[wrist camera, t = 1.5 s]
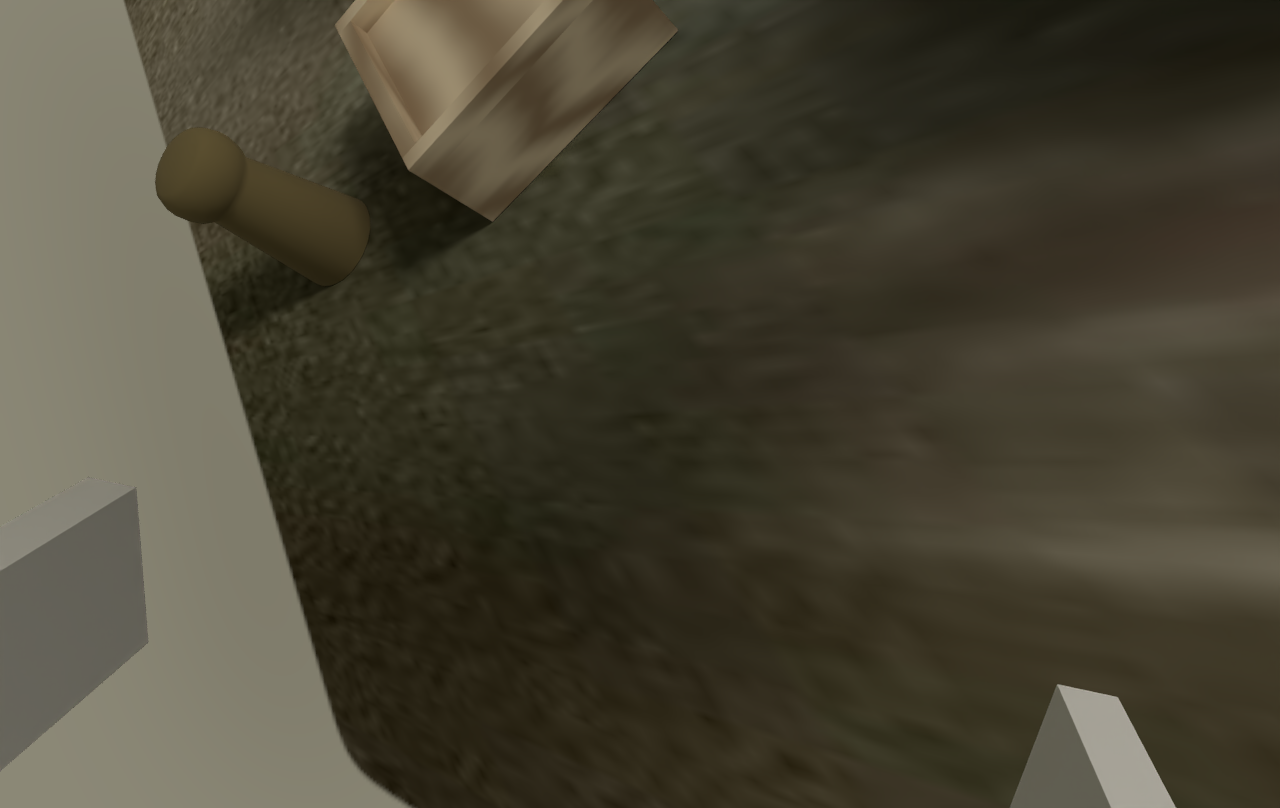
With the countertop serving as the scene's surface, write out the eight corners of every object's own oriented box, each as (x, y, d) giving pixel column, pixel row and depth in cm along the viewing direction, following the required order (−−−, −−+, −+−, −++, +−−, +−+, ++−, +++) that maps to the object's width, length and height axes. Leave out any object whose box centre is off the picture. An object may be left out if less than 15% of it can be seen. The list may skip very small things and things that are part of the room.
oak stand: (568, -93, 52) (498, -174, 47) (678, 30, 45) (609, -51, 40) (414, 82, 56) (334, 25, 51) (492, 221, 49) (408, 170, 44)
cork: (312, 303, 56) (139, 234, 47) (302, 230, 59) (137, 152, 50) (376, 253, 54) (208, 170, 45) (363, 180, 56) (201, 88, 47)
